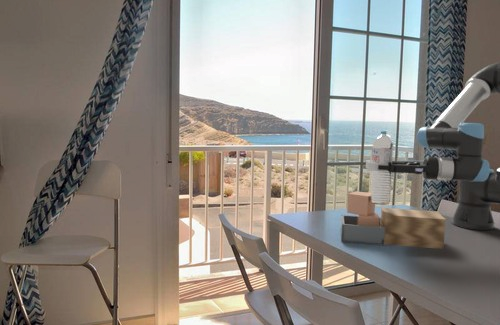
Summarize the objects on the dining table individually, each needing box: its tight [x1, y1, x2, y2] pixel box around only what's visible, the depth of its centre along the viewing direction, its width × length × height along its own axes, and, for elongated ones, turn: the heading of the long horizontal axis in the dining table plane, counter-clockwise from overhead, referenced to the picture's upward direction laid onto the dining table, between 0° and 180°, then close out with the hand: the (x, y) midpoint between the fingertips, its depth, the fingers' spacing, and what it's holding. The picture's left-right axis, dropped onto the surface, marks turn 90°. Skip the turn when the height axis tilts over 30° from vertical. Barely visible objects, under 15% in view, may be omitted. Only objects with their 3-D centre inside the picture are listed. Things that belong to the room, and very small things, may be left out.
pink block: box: [356, 212, 381, 227], centre depth 151 cm, size 8×7×7 cm
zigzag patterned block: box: [380, 207, 447, 250], centre depth 147 cm, size 19×12×10 cm, turn 79°
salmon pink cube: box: [346, 190, 376, 216], centre depth 153 cm, size 8×7×7 cm
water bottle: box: [369, 130, 394, 205], centre depth 147 cm, size 7×7×25 cm
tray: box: [340, 214, 385, 246], centre depth 151 cm, size 14×15×6 cm
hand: (366, 165), depth 148 cm, fingers closed on water bottle, 7 cm apart
